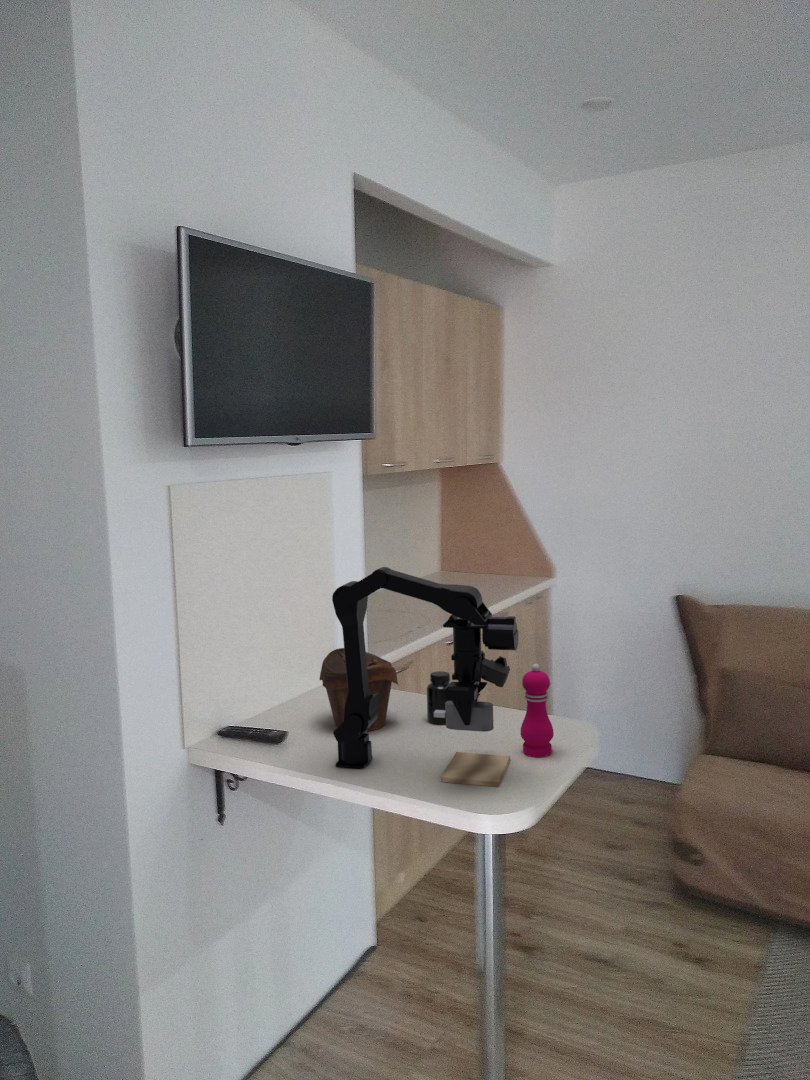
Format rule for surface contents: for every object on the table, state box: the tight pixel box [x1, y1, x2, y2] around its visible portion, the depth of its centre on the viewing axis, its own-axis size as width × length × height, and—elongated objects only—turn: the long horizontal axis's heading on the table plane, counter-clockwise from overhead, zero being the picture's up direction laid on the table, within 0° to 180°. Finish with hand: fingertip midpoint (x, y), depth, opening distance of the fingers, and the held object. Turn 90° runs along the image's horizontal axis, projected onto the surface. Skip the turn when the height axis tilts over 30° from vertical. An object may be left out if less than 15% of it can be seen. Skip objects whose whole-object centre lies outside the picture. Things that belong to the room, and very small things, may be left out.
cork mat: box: [440, 751, 511, 788], centre depth 172 cm, size 12×14×1 cm
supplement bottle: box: [426, 670, 451, 725], centre depth 203 cm, size 7×7×12 cm
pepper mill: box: [520, 663, 554, 758], centre depth 180 cm, size 7×7×20 cm
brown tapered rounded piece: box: [319, 647, 399, 732], centre depth 202 cm, size 18×20×18 cm
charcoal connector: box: [434, 700, 495, 733], centre depth 170 cm, size 12×4×5 cm, turn 73°
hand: (469, 721), depth 170 cm, fingers closed on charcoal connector, 4 cm apart
